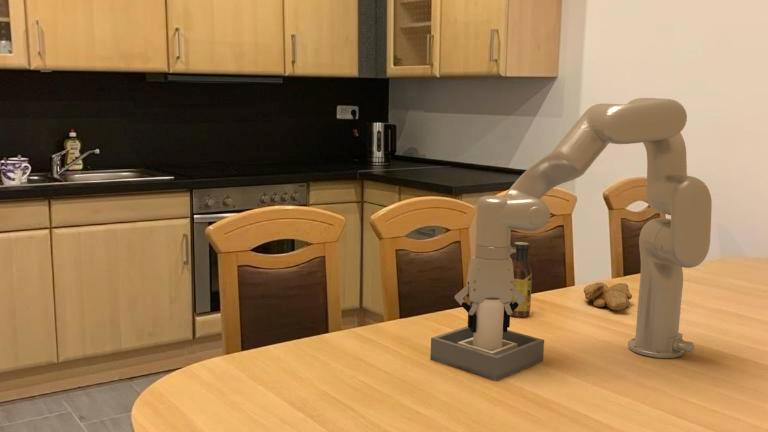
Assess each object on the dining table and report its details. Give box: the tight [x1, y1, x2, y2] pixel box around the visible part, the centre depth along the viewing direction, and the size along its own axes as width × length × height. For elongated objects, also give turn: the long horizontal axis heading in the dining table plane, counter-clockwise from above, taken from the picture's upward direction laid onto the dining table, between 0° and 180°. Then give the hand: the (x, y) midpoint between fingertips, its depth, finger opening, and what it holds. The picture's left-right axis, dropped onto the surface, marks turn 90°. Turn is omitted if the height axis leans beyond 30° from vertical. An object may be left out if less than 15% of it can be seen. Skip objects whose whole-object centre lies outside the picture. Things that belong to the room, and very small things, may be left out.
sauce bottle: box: [509, 241, 533, 318], centre depth 212 cm, size 7×6×20 cm
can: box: [473, 299, 504, 352], centre depth 176 cm, size 6×6×12 cm
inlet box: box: [429, 325, 545, 382], centre depth 177 cm, size 18×18×5 cm
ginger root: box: [583, 282, 633, 311], centre depth 226 cm, size 16×16×8 cm
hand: (488, 330), depth 176 cm, fingers closed on can, 6 cm apart
